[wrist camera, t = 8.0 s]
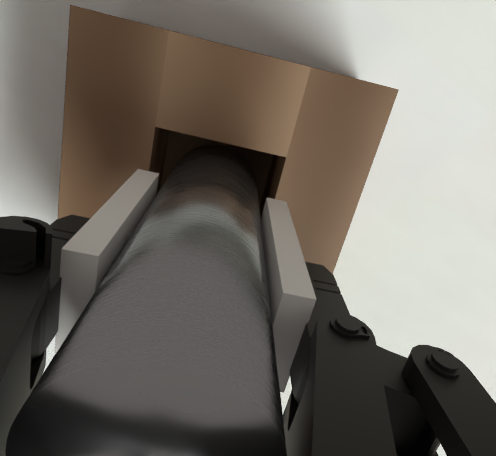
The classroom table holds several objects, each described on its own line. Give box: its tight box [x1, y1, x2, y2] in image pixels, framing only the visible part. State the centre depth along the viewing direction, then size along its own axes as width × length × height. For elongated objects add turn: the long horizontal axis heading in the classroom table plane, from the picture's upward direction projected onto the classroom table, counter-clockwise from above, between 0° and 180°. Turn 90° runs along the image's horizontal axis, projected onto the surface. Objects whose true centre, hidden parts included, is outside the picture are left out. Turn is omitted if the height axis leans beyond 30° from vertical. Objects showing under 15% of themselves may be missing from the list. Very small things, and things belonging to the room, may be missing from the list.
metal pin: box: [5, 145, 287, 456], centre depth 12 cm, size 4×4×14 cm
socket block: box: [58, 5, 398, 274], centre depth 19 cm, size 12×12×5 cm
